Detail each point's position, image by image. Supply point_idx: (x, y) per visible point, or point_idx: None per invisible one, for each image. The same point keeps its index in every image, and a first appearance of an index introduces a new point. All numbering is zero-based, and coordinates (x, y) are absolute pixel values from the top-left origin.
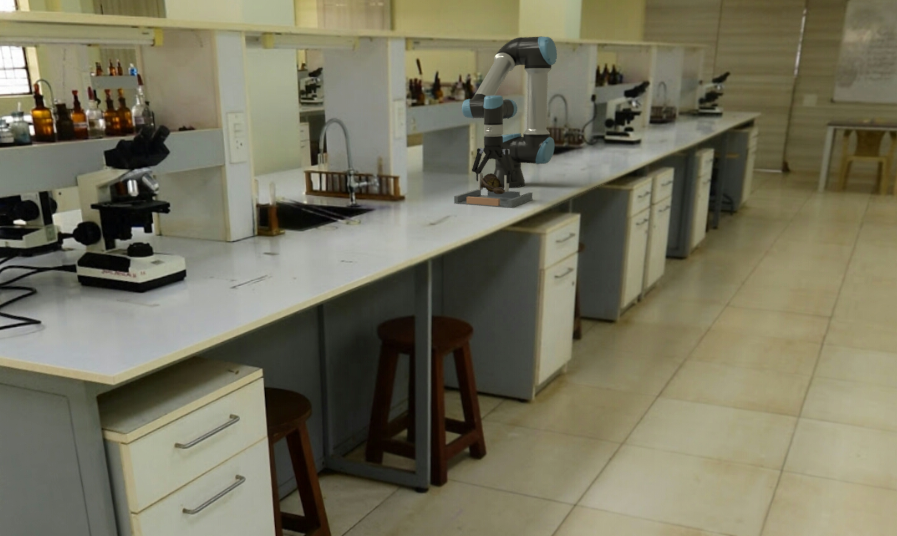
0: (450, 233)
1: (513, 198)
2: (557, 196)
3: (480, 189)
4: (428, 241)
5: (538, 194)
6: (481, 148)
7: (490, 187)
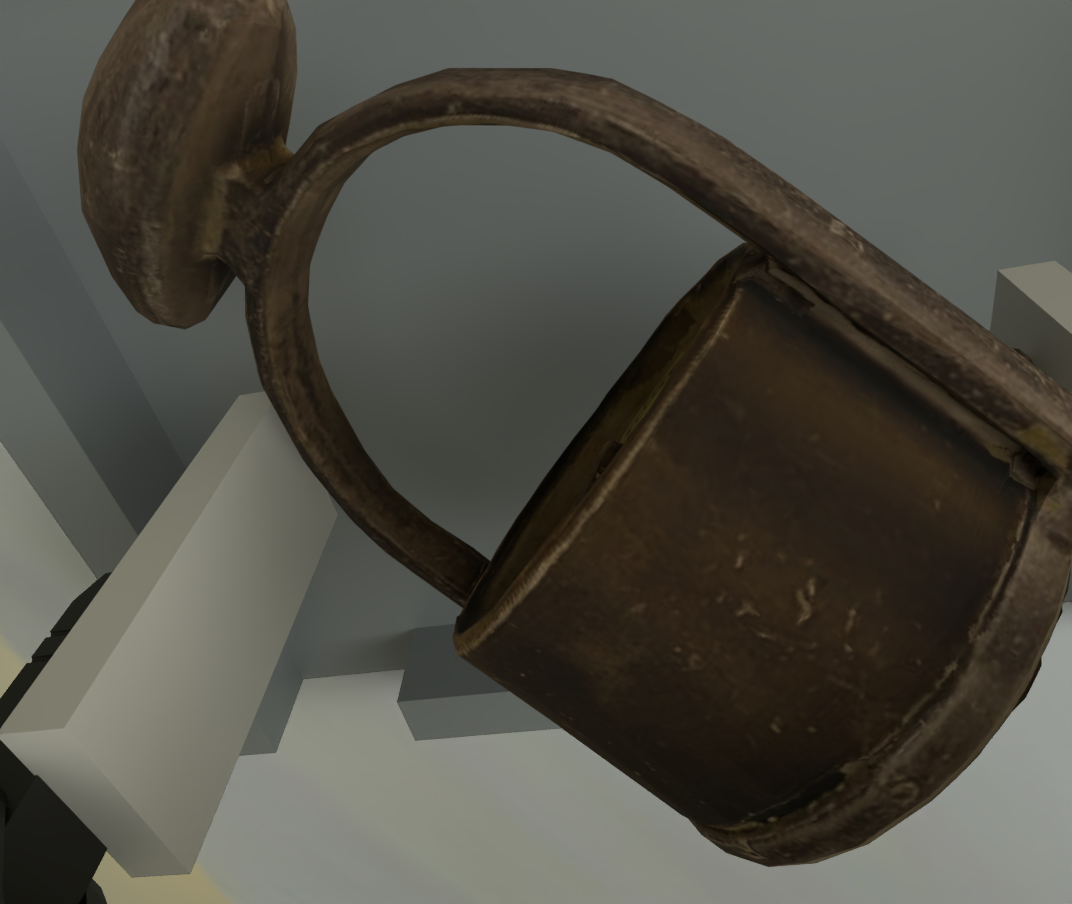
0: None
1: None
2: (232, 879)
3: (996, 309)
4: None
5: (463, 888)
6: None
7: (421, 82)
